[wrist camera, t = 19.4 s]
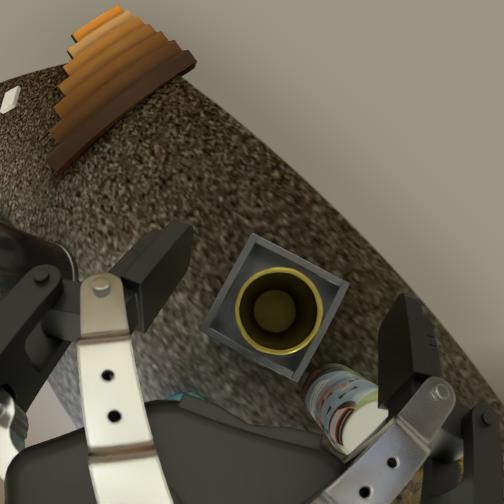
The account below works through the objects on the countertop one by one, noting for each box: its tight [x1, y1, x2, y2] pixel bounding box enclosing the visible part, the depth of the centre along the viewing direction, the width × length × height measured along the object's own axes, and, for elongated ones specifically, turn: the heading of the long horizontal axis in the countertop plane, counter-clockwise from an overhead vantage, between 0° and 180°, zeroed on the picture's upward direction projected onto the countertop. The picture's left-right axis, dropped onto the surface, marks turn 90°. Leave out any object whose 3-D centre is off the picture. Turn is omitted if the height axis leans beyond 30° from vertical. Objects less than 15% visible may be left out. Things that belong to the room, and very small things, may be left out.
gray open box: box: [199, 233, 350, 382], centre depth 30 cm, size 10×10×6 cm
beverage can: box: [302, 363, 388, 455], centre depth 25 cm, size 6×7×12 cm
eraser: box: [0, 86, 21, 114], centre depth 42 cm, size 1×5×4 cm
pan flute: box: [46, 5, 197, 175], centre depth 39 cm, size 25×3×25 cm
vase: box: [235, 267, 323, 355], centre depth 25 cm, size 6×6×14 cm
